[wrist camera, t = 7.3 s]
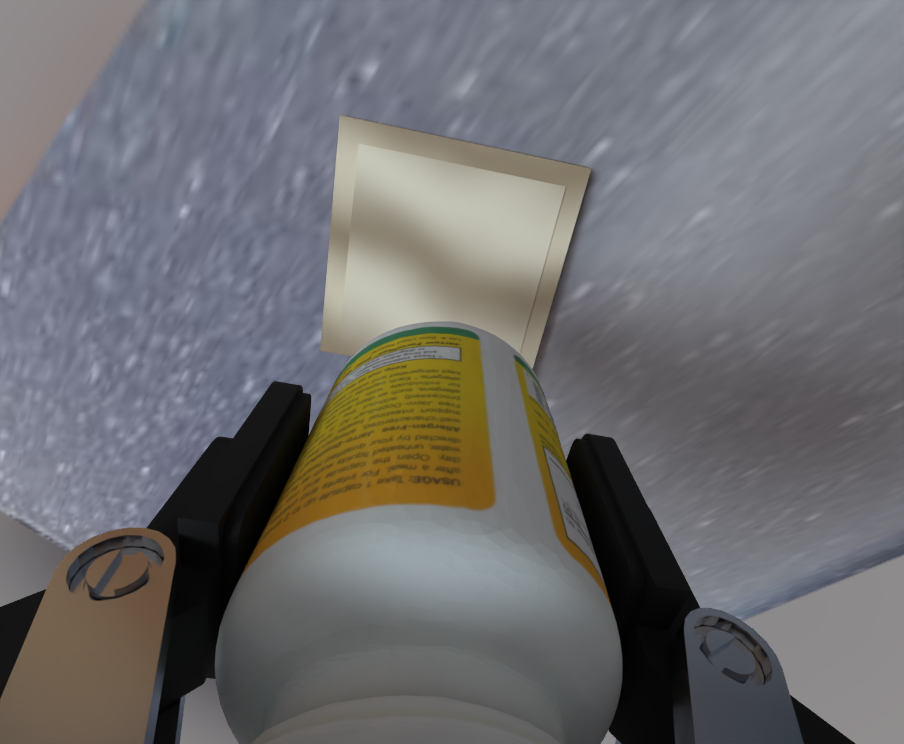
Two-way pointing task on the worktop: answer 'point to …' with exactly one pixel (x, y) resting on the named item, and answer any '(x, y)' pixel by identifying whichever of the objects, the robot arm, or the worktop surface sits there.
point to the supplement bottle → (424, 566)
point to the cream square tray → (444, 236)
